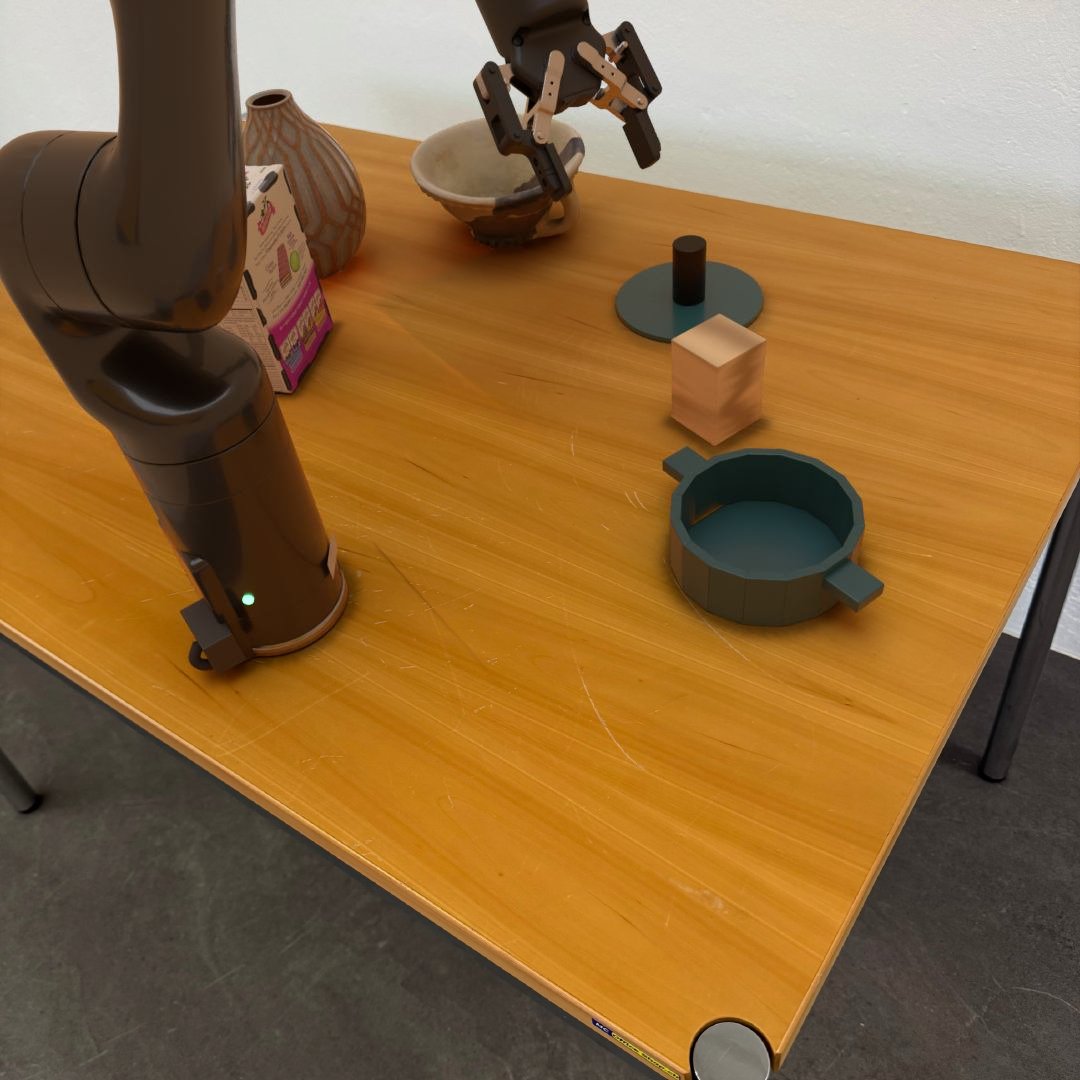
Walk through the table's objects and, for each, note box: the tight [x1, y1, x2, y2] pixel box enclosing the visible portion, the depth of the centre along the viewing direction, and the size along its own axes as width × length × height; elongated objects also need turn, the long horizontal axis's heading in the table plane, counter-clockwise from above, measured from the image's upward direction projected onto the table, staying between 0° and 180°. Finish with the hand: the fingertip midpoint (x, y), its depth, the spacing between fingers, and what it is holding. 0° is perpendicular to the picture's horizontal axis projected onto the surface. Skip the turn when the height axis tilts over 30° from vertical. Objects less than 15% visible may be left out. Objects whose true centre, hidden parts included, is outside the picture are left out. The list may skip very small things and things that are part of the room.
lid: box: [615, 234, 764, 344], centre depth 86 cm, size 14×14×7 cm
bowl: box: [409, 113, 586, 249], centre depth 98 cm, size 18×18×10 cm
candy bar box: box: [217, 164, 335, 394], centre depth 83 cm, size 11×5×16 cm, turn 168°
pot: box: [662, 445, 885, 627], centre depth 64 cm, size 12×18×5 cm
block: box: [670, 314, 768, 447], centre depth 74 cm, size 5×5×8 cm
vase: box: [242, 88, 368, 281], centre depth 95 cm, size 13×13×18 cm
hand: (609, 180), depth 72 cm, fingers open, 8 cm apart
